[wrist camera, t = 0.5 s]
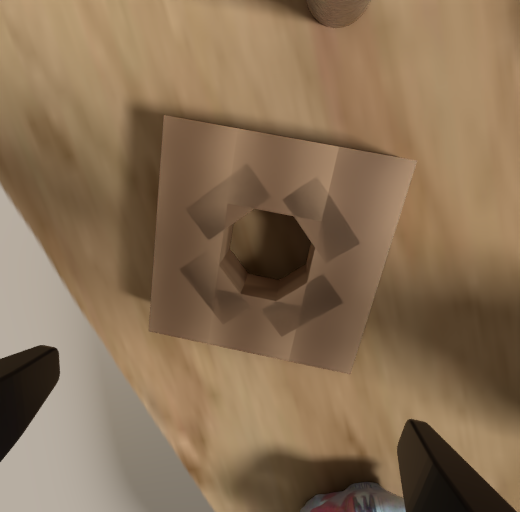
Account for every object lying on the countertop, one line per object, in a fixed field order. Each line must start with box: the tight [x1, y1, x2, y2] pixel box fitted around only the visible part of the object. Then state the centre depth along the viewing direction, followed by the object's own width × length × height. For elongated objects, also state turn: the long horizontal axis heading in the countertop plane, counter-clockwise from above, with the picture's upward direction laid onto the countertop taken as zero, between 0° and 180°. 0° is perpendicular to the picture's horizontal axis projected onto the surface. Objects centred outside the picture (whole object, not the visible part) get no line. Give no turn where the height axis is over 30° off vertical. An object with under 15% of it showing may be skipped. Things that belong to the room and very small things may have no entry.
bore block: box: [149, 115, 417, 374], centre depth 20 cm, size 12×12×3 cm
